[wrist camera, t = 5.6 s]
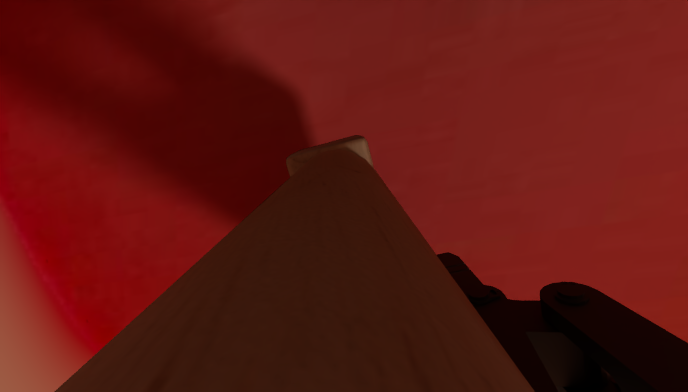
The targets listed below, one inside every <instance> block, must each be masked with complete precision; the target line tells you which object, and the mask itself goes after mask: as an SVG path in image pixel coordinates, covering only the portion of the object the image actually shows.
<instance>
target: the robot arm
mask: <svg viewBox="0 0 688 392" xmlns="http://www.w3.org/2000/svg"><path fill="white" fill-rule="evenodd" d="M437 257H438V258H439V259H440V261H441V262H442V264H443V265H444V266H445V268H446V269H447V270H448V272H449V273H450V275H451V276H452V277H453V279H454V280H455V282H456V283H457V284H458V286H459V287H460V288H461V290H462V291H463V293H464V294H465V295H466V297H467V298H468V300H469V301H470V302H471V304H472V305H473V307H474V308H475V309H476V311H477V312H478V313H479V315H480V316H481V318H482V319H483V320H484V322H485V323H486V325H487V326H488V327H489V329H490V330H491V332H492V333H493V334H494V336H495V337H496V338H497V340H498V341H499V343H500V344H501V345H502V347H503V348H504V350H505V351H506V352H507V354H508V355H509V356H510V358H511V359H512V361H513V362H514V363H515V365H516V366H517V368H518V369H519V370H520V372H521V373H522V375H523V376H524V377H525V379H526V380H527V381H528V383H529V384H530V386H531V387H532V388H533V390H534V391H535V392H688V343H687V342H685V341H683V340H681V339H680V338H678V337H676V336H675V335H673V334H671V333H670V332H668V331H666V330H664V329H663V328H661V327H659V326H658V325H656V324H654V323H653V322H651V321H649V320H647V319H646V318H644V317H642V316H641V315H639V314H637V313H636V312H634V311H632V310H630V309H629V308H627V307H625V306H624V305H622V304H620V303H619V302H617V301H615V300H613V299H612V298H610V297H608V296H607V295H605V294H603V293H602V292H600V291H598V290H596V289H594V288H592V287H589V286H587V285H583V284H578V283H575V282H559V283H552V284H549V285H547V286H544V287H543V288H542V289H541V290H540V301H519V300H510V299H507V298H506V296H505V294H504V293H503V292H502V291H501V290H499V289H497V288H495V287H492V286H487V285H483V284H482V283H481V281H480V280H479V279H478V278H477V277H476V276H475V275H474V274H473V272H472V271H471V270H469V268H468V267H467V266H466V264H464V262H463V261H462V260H461V259H460V258H459V257H458V256H456V255H453V254H451V253H449V252H448V253H443V254H438V255H437Z"/></svg>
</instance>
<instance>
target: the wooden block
mask: <svg viewBox="0 0 688 392" xmlns="http://www.w3.org/2000/svg"><path fill="white" fill-rule="evenodd" d="M286 165H287V168H288V172H289V175H290V178H289V179H288V180H287V181H286V182H285V183H284V184H282V185H281V186H280V187H279V188H278V189H277V190H276V191H275V192H274V193H273V194H271V195H270V196H269V197H268V198H267V199H266V200H265V201H264V202H263V203H262V204H261V205H259V206H258V207H257V208H256V209H255V210H254V211H253V212H252V213H251V214H250V215H248V216H247V217H246V218H245V219H244V220H243V221H242V222H241V223H240V224H239V225H237V226H236V227H235V228H234V229H233V230H232V231H231V232H230V233H229V234H228V235H226V236H225V237H224V238H223V239H222V240H221V241H220V242H219V243H218V244H217V245H215V246H214V247H213V248H212V249H211V250H210V251H209V252H208V253H207V254H206V255H204V256H203V257H202V258H201V259H200V260H199V261H198V262H197V263H196V264H195V265H193V266H192V267H191V268H190V269H189V270H188V271H187V272H186V273H185V274H184V275H182V276H181V277H180V278H179V279H178V280H177V281H176V282H175V283H174V284H173V285H171V286H170V287H169V288H168V289H167V290H166V291H165V292H164V293H163V294H162V295H160V296H159V297H158V298H157V299H156V300H155V301H154V302H153V303H152V304H151V305H149V306H148V307H147V308H146V309H145V310H144V311H143V312H142V313H141V314H140V315H138V316H137V317H136V318H135V319H134V320H133V321H132V322H131V323H130V324H129V325H127V326H126V327H125V328H124V329H123V330H122V331H121V332H120V333H119V334H118V335H116V336H115V337H114V338H113V339H112V340H111V341H110V342H109V343H108V344H107V345H105V346H104V347H103V348H102V349H101V350H100V351H99V352H98V353H97V354H96V355H94V356H93V357H92V358H91V359H90V360H89V361H88V362H87V363H86V364H85V365H83V366H82V367H81V368H80V369H79V370H78V371H77V372H76V373H75V374H74V375H72V376H71V377H70V378H69V379H68V380H67V381H66V382H65V383H64V384H63V385H61V386H60V387H59V388H58V389H57V390H56V391H55V392H535V391H534V390H533V388H532V387H531V386H530V384H529V383H528V381H527V380H526V379H525V377H524V376H523V375H522V373H521V372H520V370H519V369H518V368H517V366H516V365H515V363H514V362H513V361H512V359H511V358H510V356H509V355H508V354H507V352H506V351H505V350H504V348H503V347H502V345H501V344H500V343H499V341H498V340H497V338H496V337H495V336H494V334H493V333H492V332H491V330H490V329H489V327H488V326H487V325H486V323H485V322H484V320H483V319H482V318H481V316H480V315H479V313H478V312H477V311H476V309H475V308H474V307H473V305H472V304H471V302H470V301H469V300H468V298H467V297H466V295H465V294H464V293H463V291H462V290H461V288H460V287H459V286H458V284H457V283H456V282H455V280H454V279H453V277H452V276H451V275H450V273H449V272H448V270H447V269H446V268H445V266H444V265H443V264H442V262H441V261H440V259H439V258H438V257H437V255H436V254H435V252H434V251H433V250H432V248H431V247H430V245H429V244H428V243H427V241H426V240H425V239H424V237H423V236H422V234H421V233H420V232H419V230H418V229H417V227H416V226H415V225H414V223H413V222H412V221H411V219H410V218H409V216H408V215H407V214H406V212H405V211H404V209H403V208H402V207H401V205H400V204H399V202H398V201H397V200H396V198H395V197H394V196H393V194H392V193H391V191H390V190H389V189H388V187H387V186H386V184H385V183H384V182H383V180H382V179H381V178H380V176H379V175H378V173H377V172H376V171H375V169H374V167H373V163H372V159H371V155H370V151H369V147H368V143H367V141H366V139H365V138H364V137H362V136H359V135H354V136H351V137H347V138H343V139H339V140H336V141H332V142H328V143H325V144H321V145H317V146H314V147H310V148H306V149H302V150H299V151H297V152H295V153H293V154H291V155H290V156H289V157H287V159H286Z"/></svg>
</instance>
